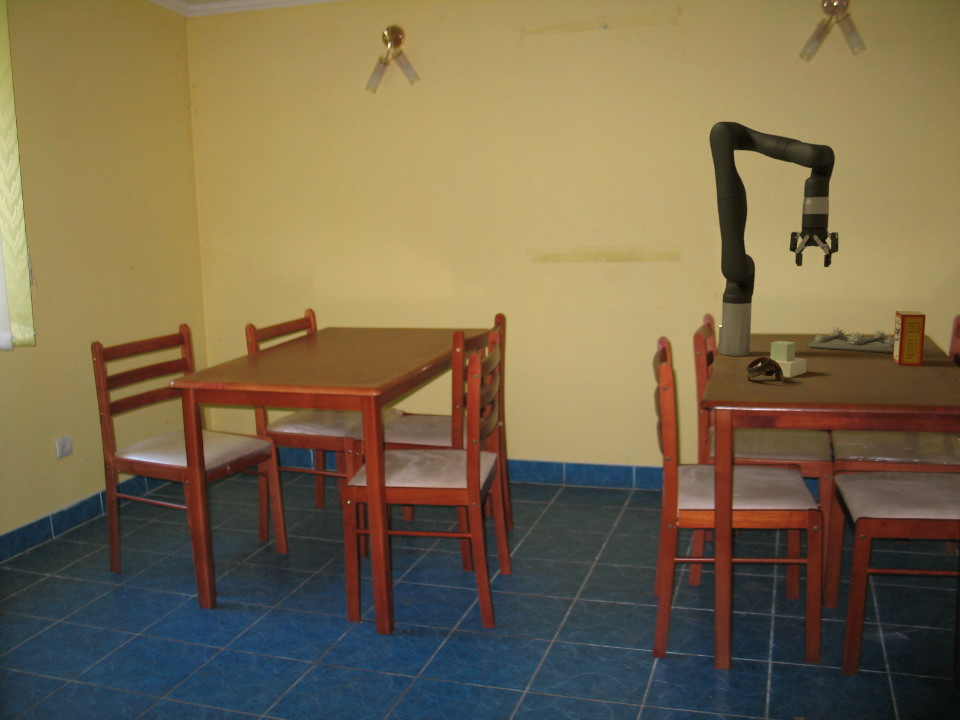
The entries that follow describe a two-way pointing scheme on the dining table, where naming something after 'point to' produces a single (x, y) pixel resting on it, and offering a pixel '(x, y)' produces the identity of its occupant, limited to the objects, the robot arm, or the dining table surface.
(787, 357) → the cube
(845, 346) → the decorative plate
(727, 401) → the dining table surface
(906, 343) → the baking soda box
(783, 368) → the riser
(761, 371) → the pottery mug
